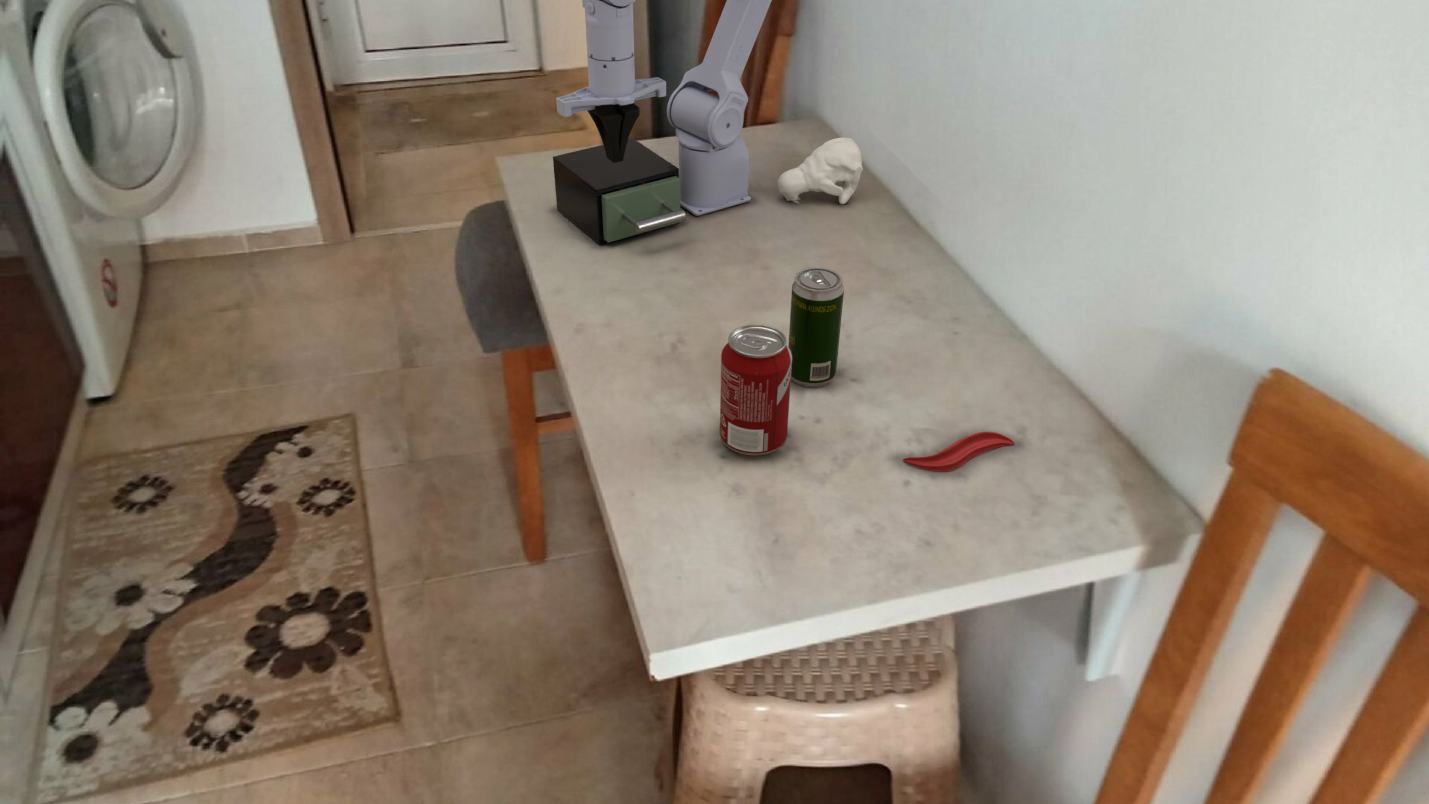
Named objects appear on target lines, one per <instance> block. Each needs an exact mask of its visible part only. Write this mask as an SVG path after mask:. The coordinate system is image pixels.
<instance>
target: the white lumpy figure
mask: <svg viewBox="0 0 1429 804" xmlns="http://www.w3.org/2000/svg"><path fill="white" fill-rule="evenodd" d="M863 171H864V168H863V158H862V152H861V149H860V147H859V145H858V144H857V143H856V142H855V141H854V139H852V138H850V137H836V138H833V139H829V140H827V141H825V142H824V143H823V144H821V145H820V146H818V147H817V148H815V149H814V150H813V151H812V153H811V154H810V155H809V156H807V157H806V158H805V159H804V160H803V162H802V163H800V164H799V165H798V167H794V168H791V169H788V170H785V171H784V172H782V173H781V174H780V175H779V177H778V180H777V190H778V191H779V193H780V194H781V195H782V196H783V197H784V198H785V200H786V201H787V202H791V201H792V202H794V203H797V204H799V199H800V196H799V195H800V194H801V195H802V194H803V193H807V192H814V193H823V192H824V193H825V194H828V195H831V196H834V197H836V196H837V197H838V203H839V204H840V205H845V204H846V203H847V202H848V201H849V199H850V198H851V197H852V196H853V195H854V194H855V191H856V189H857V187H858V184H859V182H860V178H861V175H862V172H863Z"/></svg>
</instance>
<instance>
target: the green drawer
mask: <svg viewBox="0 0 1429 804" xmlns="http://www.w3.org/2000/svg"><path fill="white" fill-rule="evenodd" d="M601 198H602V216H603V234H604V240H605V241H607V242H608V244H610V243H609V242H611V243H613V242H612V241H615V242H617V241H616V240H618V241H620V240H619V239H622V240H624V239H623V238H625V239H627V238H626V237H629V238H631V237H630V236H632V237H634V236H633V235H636V236H638V235H637V234H639V235H641V234H640V233H643V234H645V233H644V232H646V233H648V232H647V231H650V232H652V231H651V230H653V231H655V230H654V229H657V230H659V229H658V228H660V229H662V228H661V227H664V228H666V227H665V226H667V227H669V226H668V225H671V226H673V225H672V224H674V225H676V224H675V223H678V224H680V223H681V222H683V221H686V219H687V215H686V211H684V210H683V209H681V205H680V179H679V178H678V177H676V176H673V177H670V178H667V177H663V178H659V179H655V180H651V181H647V182H645V184H643V185H639V186H635V187H631V188H627V189H624V190H620V191H616V192H612V193H609V192H605V193H601Z"/></svg>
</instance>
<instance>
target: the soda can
mask: <svg viewBox="0 0 1429 804" xmlns="http://www.w3.org/2000/svg"><path fill="white" fill-rule="evenodd" d="M787 341H788V340H787V337H786V335H785V334H784V333H783V331H781V330H780V329H779V328H776V327H773V326H771V325H768V324H760V323H751V324H744V325H741V326H739V327H736V328H735V329H733V330H732V331H731V332H730V333H729V335H728V338H727V343H726V344H725V345H724V347H723V348H722V350H721V354H720V399H719V400H720V405H719V437H720V440H721V442H722V443H723V445H724V446H726V447H727V448H728V449H729V450H731V451H733V452H736V453H738V454H741V455H746V456H764V455H768V454H771V453H774V452H776V451H777V450H780V449H781V448H782V447H783V446H784V445H785V444H786V441H787V439H788V427H789V413H790V410H789V409H790V396H791V382H792V381H791V380H792V379H791V368H792V353H791V351H790V349H789V348H788V344H787Z"/></svg>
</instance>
